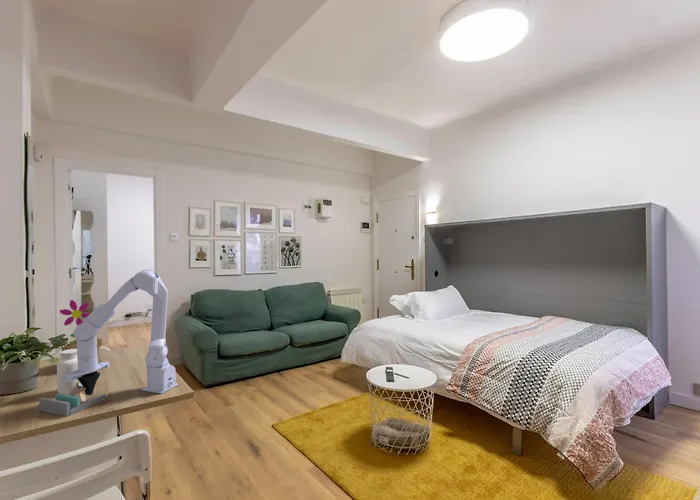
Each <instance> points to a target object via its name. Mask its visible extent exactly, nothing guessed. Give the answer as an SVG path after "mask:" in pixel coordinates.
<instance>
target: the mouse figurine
mask: <svg viewBox="0 0 700 500" xmlns="http://www.w3.org/2000/svg"><path fill="white" fill-rule="evenodd" d="M78 384H79V382H77V383H76V386H75V387H74V388H73V389H72V390H71V391H70V395H71V396H77V397H80V404H82V403H86V402H87V400H88V398H87V397H86V396H85V395H86V394H85V391H84V390H85V389H86V388H85V387H82V386H79V385H78Z"/></svg>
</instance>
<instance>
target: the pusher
mask: <svg viewBox="0 0 700 500" xmlns="http://www.w3.org/2000/svg"><path fill="white" fill-rule="evenodd" d="M54 400H59V401H65V402H70V409H72V408H74V407H77V406H79V405H81V403H80V397H77V396H71V395H65V394H59V393H56V394H54Z"/></svg>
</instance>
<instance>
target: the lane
mask: <svg viewBox="0 0 700 500" xmlns="http://www.w3.org/2000/svg"><path fill="white" fill-rule="evenodd" d="M69 395H70V394H69ZM106 399H107V394H106V393H103V394H102V395H99V396H97V397H95V398H92V399H90V400H89V401H86V402H82V403H80V405H79V406H77V407H74V408H70V402H65V401H59V400H55V398H49V397H48V398H47V397H40V398H38V403H39V404H38V405H39V411H40V412H45V413H49V414H54V415H59V416H64V417H69V416H71V415H73V414H75V413H77V412H80V411H82V410H83V409H86V408H88V407H91V406H93V405H94V404H97V403H99V402H101V401H104V400H106Z"/></svg>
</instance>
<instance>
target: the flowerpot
mask: <svg viewBox="0 0 700 500" xmlns="http://www.w3.org/2000/svg"><path fill="white" fill-rule="evenodd" d="M89 305H90V304H89V302H85V303H82V304H81V305H80V306H79V307H78V304H77V302H76V301H75V300H74V299H71V300H69V307H70V309H66V308H63V309H59V313H60V314H61V315H62V316H63V315H64V316H69V317H67V318H66V319H65V321H64V323H63V325H64V326H68V325H71V324H72V323H73V322H74V321H75V323H76V324H75V325H76V326H77V325H79V324H82V323H83V321H82V320H83V319H84V318H87V317H88V316H89V315H90V314H91V312H84V311H86V310H87V309H88V307H89ZM82 318H83V319H82ZM69 336H70V338H71V337H72V338H75V336H74V333H72V334H70V335H69ZM96 338H97V354H98V355H99V352H100V348H101V347H102V345H103V339H102V338H98V337H96ZM68 349H77V345H76V346H75V345H71V344H67V345H65V346H64V347H62V346H61V352H62V351H64V350H68Z"/></svg>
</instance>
